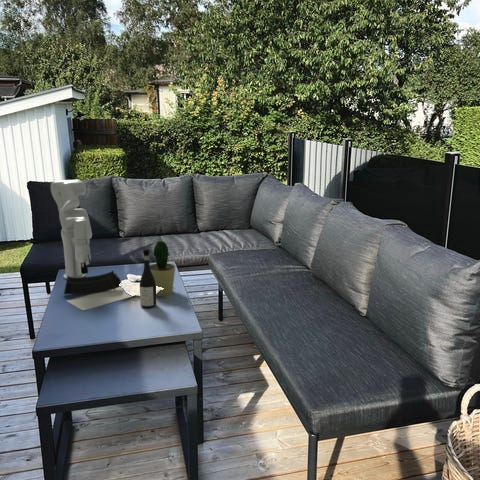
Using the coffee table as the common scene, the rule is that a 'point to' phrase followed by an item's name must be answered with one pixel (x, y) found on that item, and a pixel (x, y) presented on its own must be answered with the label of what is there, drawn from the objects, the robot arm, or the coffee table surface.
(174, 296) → the coffee table surface
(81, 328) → the coffee table surface
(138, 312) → the coffee table surface
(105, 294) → the mat
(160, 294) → the potted cactus
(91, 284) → the magazine
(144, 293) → the wine bottle
